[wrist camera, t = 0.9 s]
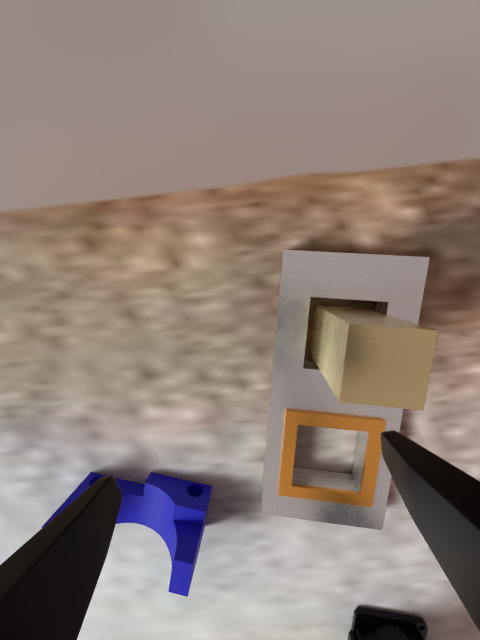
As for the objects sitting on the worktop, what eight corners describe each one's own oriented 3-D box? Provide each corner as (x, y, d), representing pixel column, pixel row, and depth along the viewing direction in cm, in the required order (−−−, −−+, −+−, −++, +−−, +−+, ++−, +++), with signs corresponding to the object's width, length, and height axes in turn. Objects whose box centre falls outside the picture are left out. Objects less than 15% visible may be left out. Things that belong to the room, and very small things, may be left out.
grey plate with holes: (413, 259, 20) (432, 256, 18) (372, 509, 24) (383, 533, 21) (281, 252, 21) (283, 249, 19) (261, 494, 25) (261, 516, 22)
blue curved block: (212, 484, 25) (195, 547, 19) (205, 524, 26) (187, 596, 20) (93, 457, 26) (42, 510, 20) (90, 496, 27) (40, 558, 21)
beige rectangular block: (365, 308, 21) (438, 330, 12) (358, 356, 22) (423, 410, 13) (314, 304, 21) (349, 323, 13) (309, 352, 22) (339, 402, 13)
